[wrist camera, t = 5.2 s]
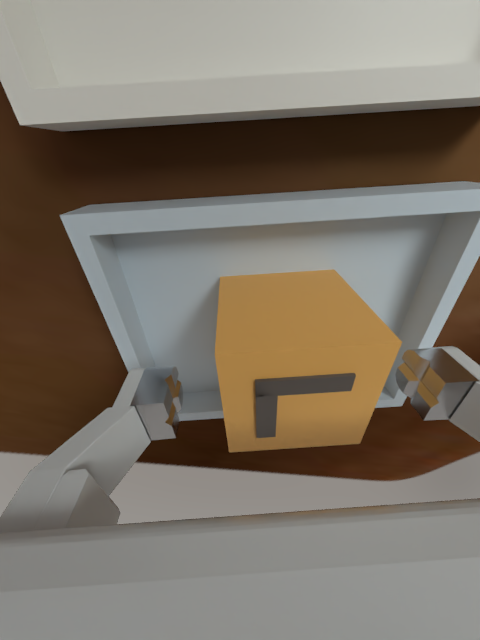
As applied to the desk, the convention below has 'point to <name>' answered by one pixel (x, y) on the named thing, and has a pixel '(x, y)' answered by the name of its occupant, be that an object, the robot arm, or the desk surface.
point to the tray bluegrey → (272, 266)
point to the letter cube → (298, 360)
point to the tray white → (233, 59)
